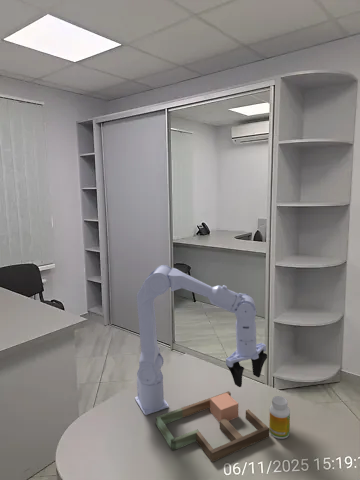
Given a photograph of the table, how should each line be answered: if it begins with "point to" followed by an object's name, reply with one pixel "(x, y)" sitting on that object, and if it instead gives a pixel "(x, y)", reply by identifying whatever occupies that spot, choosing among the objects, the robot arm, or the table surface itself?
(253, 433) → the frame
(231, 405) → the terracotta block
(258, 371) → the robot arm
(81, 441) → the table surface
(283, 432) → the supplement bottle
